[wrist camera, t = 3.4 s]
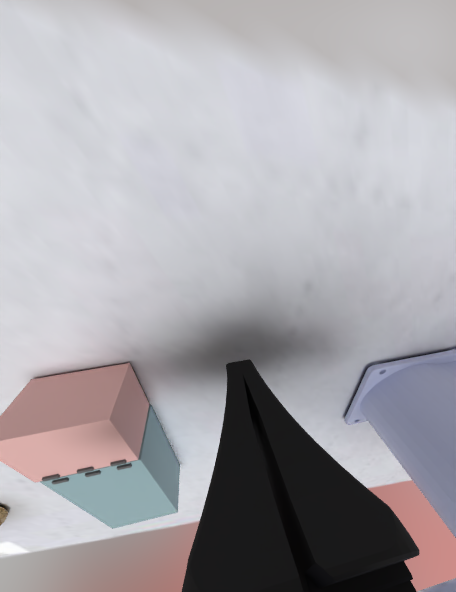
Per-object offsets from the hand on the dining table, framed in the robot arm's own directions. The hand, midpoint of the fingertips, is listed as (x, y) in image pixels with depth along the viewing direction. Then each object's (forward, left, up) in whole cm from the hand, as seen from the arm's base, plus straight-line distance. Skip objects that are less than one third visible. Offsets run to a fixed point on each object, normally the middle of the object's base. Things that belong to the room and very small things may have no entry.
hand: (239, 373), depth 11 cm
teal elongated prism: (+8, +8, -1) cm, 12 cm away
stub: (+8, +1, -1) cm, 9 cm away
